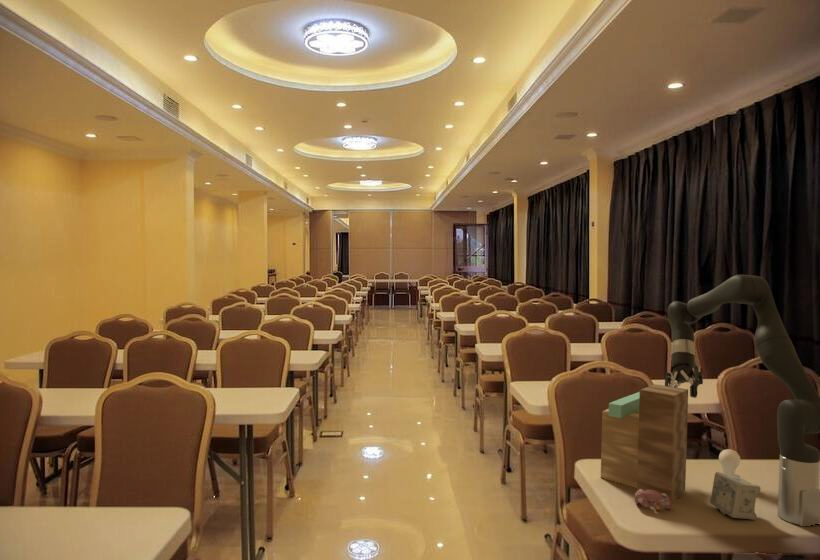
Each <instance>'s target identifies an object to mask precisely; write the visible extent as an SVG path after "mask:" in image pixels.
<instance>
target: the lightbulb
mask: <svg viewBox="0 0 820 560" xmlns="http://www.w3.org/2000/svg"><path fill="white" fill-rule="evenodd" d="M718 461H719V463H720V465H721V467H722V473H729V474H736V470H737V469H738V467H740V464H741V456H740V454H739V453H738V452H737V451H735V450H734V449H730V448H726V449H723V450H721V451H720V453H719V455H718Z"/></svg>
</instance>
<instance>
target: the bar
mask: <svg viewBox="0 0 820 560" xmlns="http://www.w3.org/2000/svg"><path fill="white" fill-rule="evenodd" d="M639 398H640V391H638V392H636V393H633V394H630V395H627V396H624V397H621V398H619V399H616V400H614V401H612V402H609V403H608V409H609V413H608V416H612V417H617V418H623V417H625V416H627V415H630V414H632V413H634V412H636V411H639Z"/></svg>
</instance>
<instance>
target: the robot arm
mask: <svg viewBox="0 0 820 560" xmlns="http://www.w3.org/2000/svg"><path fill="white" fill-rule="evenodd" d="M731 303H732V304H733V303H736V304H740V305H741V304H743V305H751V307H752V308H753V311H754V312H755V316H756V318H757V326H756V330H755V333H754V341H753V343H754V346H755V349H756V352H757V353H758V355H759V359H760V360H761V363H762V364H763V365H764V366H765V368H766V369H767V370H769V372H770V373H772V374H773V375H774V376H775V377H776V378H777V379H779V380H780V381H781V382H782V383H783V384H784V385H785V386H786V387H787V388H788V390H790V392H791V393H792V396H793V397H794V399H790V398H789V399H785V400H783V401H781V402H780V403H779V405H778V408H777V411H776V422H777V423H776V426H777V429H776V430H777V443H778V448H779V465H778V466H779V467H778V468H779V469H778V491H777V492H778V493H777V494H778V495H777V497H778V498H777V515H778V517H779V518H780V519H781V520H783V521H786V522H788V523H791V524H794V525H798V526H801V527H810V526H811V525H813V526H816V525H815V524H819V523H820V488H819V487H820V450H819V449H818V448H816V447H815V446H813V445H810V444H807V443H806V442H805V435H807V434H809V435H810V434H820V395H819V392H817V390H816V388H815V387H814V385H813V383H812V382H811V379H810V378H809V376H808V374H807V372H806V371H805V369H804V367H803V365H802V362H801V360H800V358H799V356H798V354H797V351H796V347H795V346H794V344H793V341H792V340H791V338H790V336H789V334H788V332H787V330H786V328H785V325H784V323H783V321H782V318H781V316H780V313H779V311H778V309H777V305H776V303H775V299H774V297H773V293H772V290H771V288H770V285H769V283H768V281H767V280H766V279H765V278H764V277H762V276H758V275H752V274H751V275H749V274H735V275H733V276H731V277H730V278H727V279H726V280H725V281H724V282H722V283H720V284H719V285H717V286H716V287H714V288H713V289H711V290H709V291H707V292H706V293H703V294H701V295H698V296H696V297H692V298H691V299H690V300H689V301H687V303H686V302H682V301H678V300H674V301H672V302H671V303H670V304H669V305H668V308H667V317H668V322H669V325H670V328H671V331H672V342H671V344H672V345H671V367H672V369H673V370H672V372H667V371H666V372H665V375H664V377H665V378H664V386H669V387H676V388H679V387H680V386H681V385H682V384H685V383H689V384H690V386H689V396H690V397H691V398H694V399H696V398H697V396H698V387H699V386H700V385H703V383H704V381H703V369H702V367H700V366H697V365H696V352H695V351H696V350H695V348H696V347H695V332H694V329H693V328H692V327H691V326H690V325H691V324H696V323H697V322H698V321H699V320H700V319H702V318H703V317H704V316H707V315H711V314H713V313H715V312H716V311H718V310H719V309H720V308H721V306H722V305H725V304H731ZM811 527H812V526H811Z"/></svg>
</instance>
